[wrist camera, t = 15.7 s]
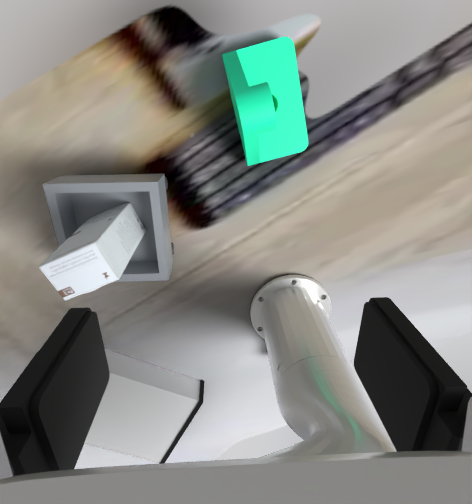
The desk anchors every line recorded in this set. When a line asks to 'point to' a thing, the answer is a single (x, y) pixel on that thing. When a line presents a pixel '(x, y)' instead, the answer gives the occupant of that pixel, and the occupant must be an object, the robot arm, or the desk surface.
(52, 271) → the skincare box
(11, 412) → the robot arm
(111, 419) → the disc drive
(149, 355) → the desk surface
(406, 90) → the desk surface
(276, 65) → the camera mount
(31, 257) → the desk surface
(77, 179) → the grey square tray
